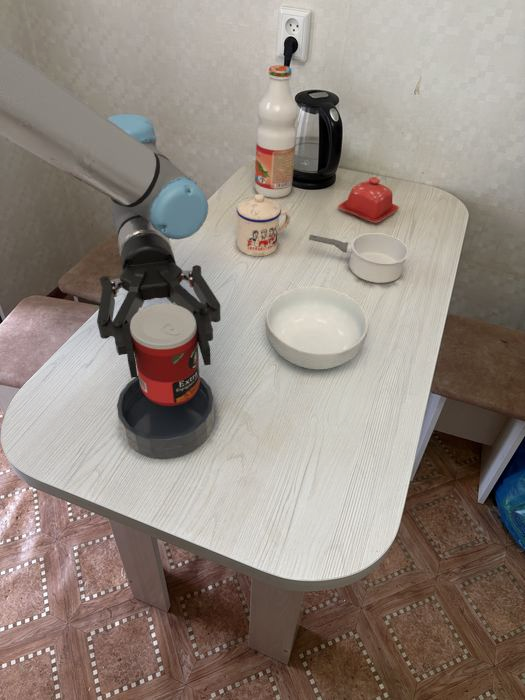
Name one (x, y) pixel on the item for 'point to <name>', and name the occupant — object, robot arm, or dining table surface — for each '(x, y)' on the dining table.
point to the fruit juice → (276, 136)
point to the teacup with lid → (259, 225)
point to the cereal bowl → (316, 326)
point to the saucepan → (373, 255)
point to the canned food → (166, 353)
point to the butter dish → (370, 201)
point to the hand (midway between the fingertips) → (170, 362)
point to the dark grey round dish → (165, 422)
